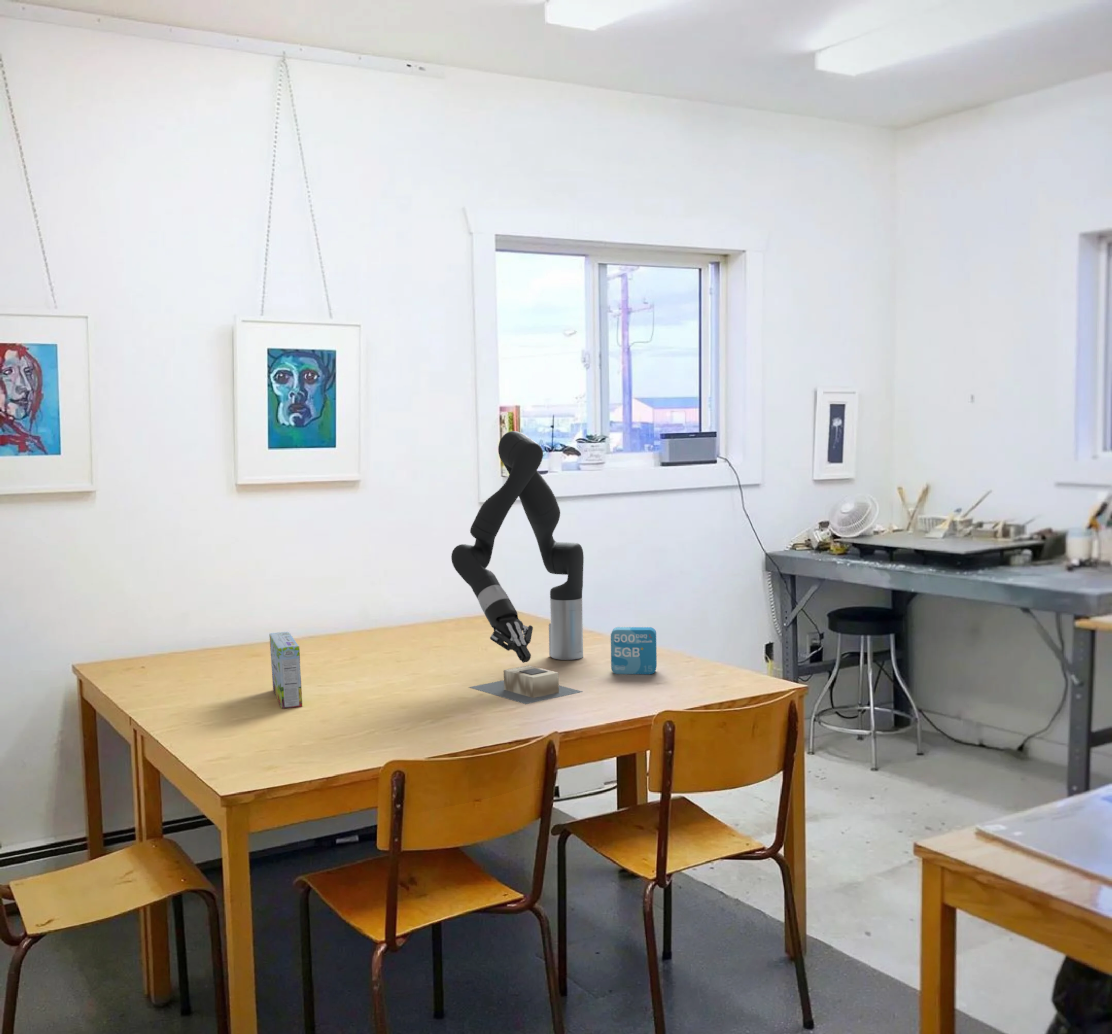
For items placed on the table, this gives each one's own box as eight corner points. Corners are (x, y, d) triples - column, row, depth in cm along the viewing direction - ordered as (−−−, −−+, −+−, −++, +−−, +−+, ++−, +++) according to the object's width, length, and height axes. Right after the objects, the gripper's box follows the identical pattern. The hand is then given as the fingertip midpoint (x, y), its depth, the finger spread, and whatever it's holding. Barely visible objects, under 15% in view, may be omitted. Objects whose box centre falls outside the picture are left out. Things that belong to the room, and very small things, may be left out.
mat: (468, 688, 277) (468, 687, 277) (524, 677, 288) (524, 676, 288) (526, 705, 259) (526, 704, 258) (583, 692, 270) (583, 691, 270)
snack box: (270, 690, 279) (268, 632, 278) (292, 688, 281) (290, 630, 280) (280, 709, 259) (277, 647, 258) (303, 707, 261) (301, 645, 260)
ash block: (503, 669, 273) (533, 676, 264) (528, 664, 278) (558, 671, 269) (504, 689, 274) (533, 697, 264) (529, 684, 279) (558, 692, 269)
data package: (611, 674, 290) (610, 629, 289) (612, 670, 295) (611, 626, 294) (656, 674, 289) (655, 630, 288) (656, 671, 293) (656, 627, 292)
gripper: (481, 600, 274) (512, 655, 266) (523, 594, 282) (554, 647, 274) (470, 618, 279) (499, 673, 270) (511, 612, 287) (541, 665, 278)
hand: (527, 660), depth 272 cm, fingers closed
